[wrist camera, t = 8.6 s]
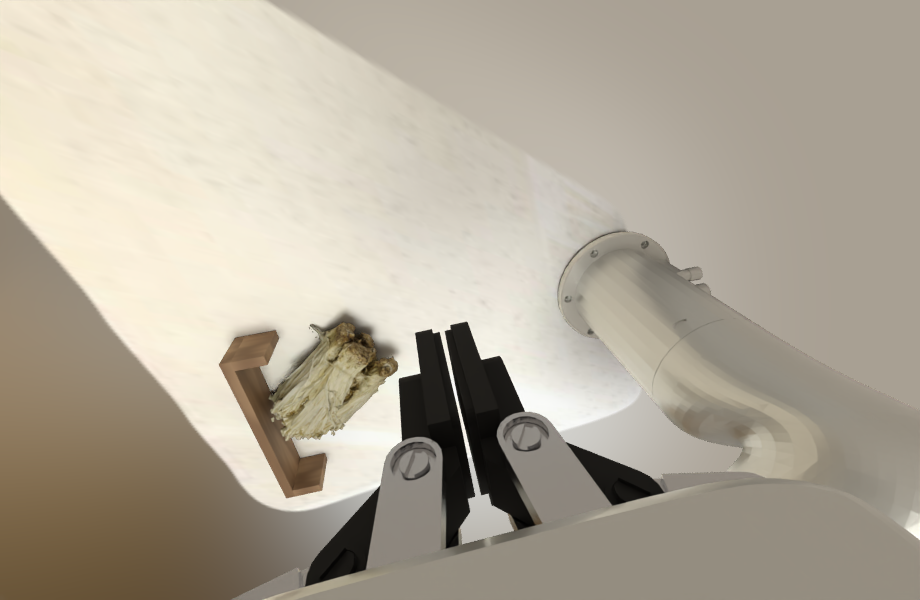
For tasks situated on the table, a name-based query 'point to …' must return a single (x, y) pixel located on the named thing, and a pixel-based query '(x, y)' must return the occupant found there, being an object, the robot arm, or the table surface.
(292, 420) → the beige fibrous lump
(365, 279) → the table surface
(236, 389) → the stand
